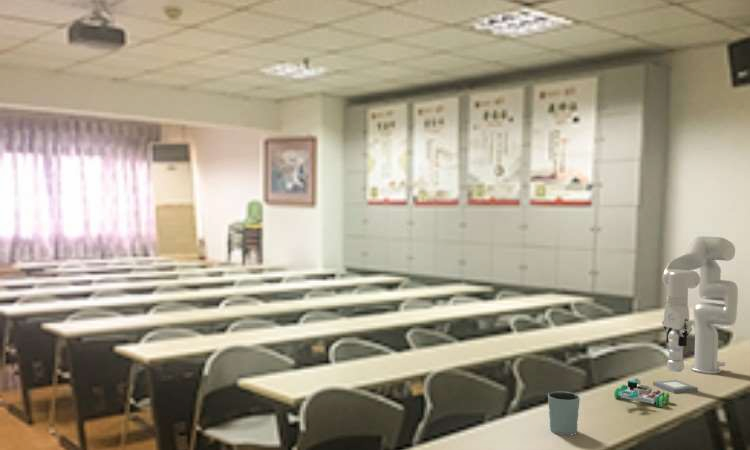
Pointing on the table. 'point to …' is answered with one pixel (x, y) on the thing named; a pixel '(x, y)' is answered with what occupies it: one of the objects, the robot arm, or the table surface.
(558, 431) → the grey blue cup
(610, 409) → the table surface
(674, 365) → the plastic bottle
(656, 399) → the robot kit
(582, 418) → the table surface
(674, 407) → the table surface
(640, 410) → the table surface
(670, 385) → the grey flat square slab
